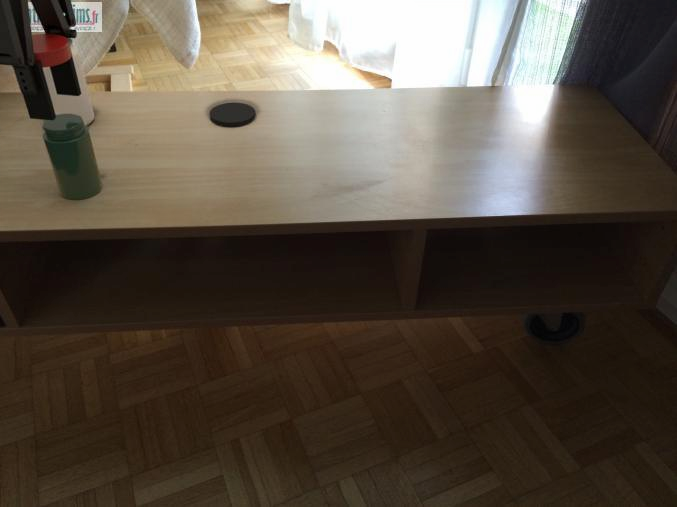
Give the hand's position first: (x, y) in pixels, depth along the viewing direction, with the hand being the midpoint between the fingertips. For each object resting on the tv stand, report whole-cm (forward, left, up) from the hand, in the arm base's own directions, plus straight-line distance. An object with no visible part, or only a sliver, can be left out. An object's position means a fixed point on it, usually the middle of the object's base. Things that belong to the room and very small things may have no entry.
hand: (56, 105), depth 71 cm
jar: (0, 0, -11) cm, 11 cm away
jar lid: (0, 0, +7) cm, 7 cm away
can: (-9, +17, -12) cm, 23 cm away
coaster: (+14, +23, -11) cm, 29 cm away
